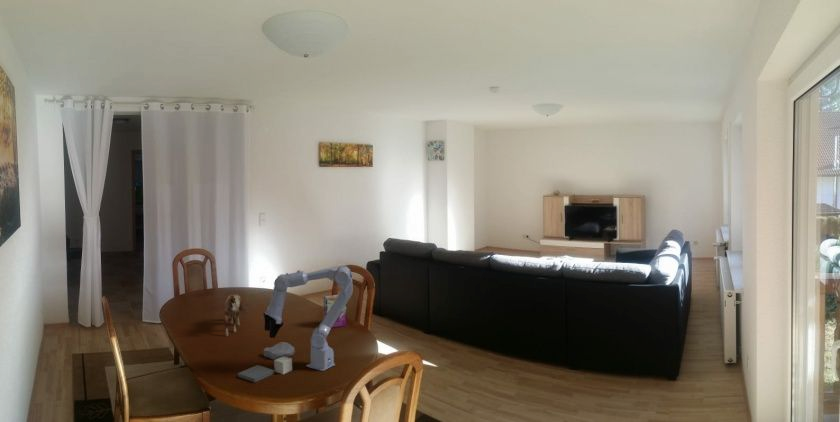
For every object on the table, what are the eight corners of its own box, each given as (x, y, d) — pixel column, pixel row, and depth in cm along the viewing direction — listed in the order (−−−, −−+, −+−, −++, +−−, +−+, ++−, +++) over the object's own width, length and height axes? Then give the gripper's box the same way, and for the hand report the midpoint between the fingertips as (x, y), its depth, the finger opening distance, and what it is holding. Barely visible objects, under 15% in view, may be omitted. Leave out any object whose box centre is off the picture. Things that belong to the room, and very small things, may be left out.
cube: (292, 370, 215) (291, 358, 214) (283, 374, 211) (283, 362, 210) (283, 367, 217) (283, 356, 217) (274, 371, 213) (274, 360, 213)
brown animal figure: (236, 338, 253) (235, 297, 251) (220, 339, 251) (218, 298, 249) (246, 319, 283) (245, 282, 281) (231, 320, 282) (230, 283, 280)
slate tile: (274, 373, 211) (274, 370, 211) (255, 382, 203) (255, 378, 202) (257, 368, 216) (257, 365, 216) (238, 376, 208) (237, 373, 208)
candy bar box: (326, 329, 267) (326, 298, 265) (323, 326, 271) (323, 296, 270) (346, 326, 273) (346, 295, 271) (343, 323, 277) (343, 293, 275)
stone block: (297, 357, 234) (283, 348, 240) (297, 347, 233) (284, 338, 239) (274, 366, 225) (261, 356, 231) (275, 356, 224) (262, 346, 230)
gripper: (263, 296, 219) (255, 326, 220) (272, 308, 207) (264, 340, 208) (279, 297, 223) (271, 327, 224) (289, 309, 211) (281, 341, 212)
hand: (269, 333), depth 216 cm, fingers open, 7 cm apart
